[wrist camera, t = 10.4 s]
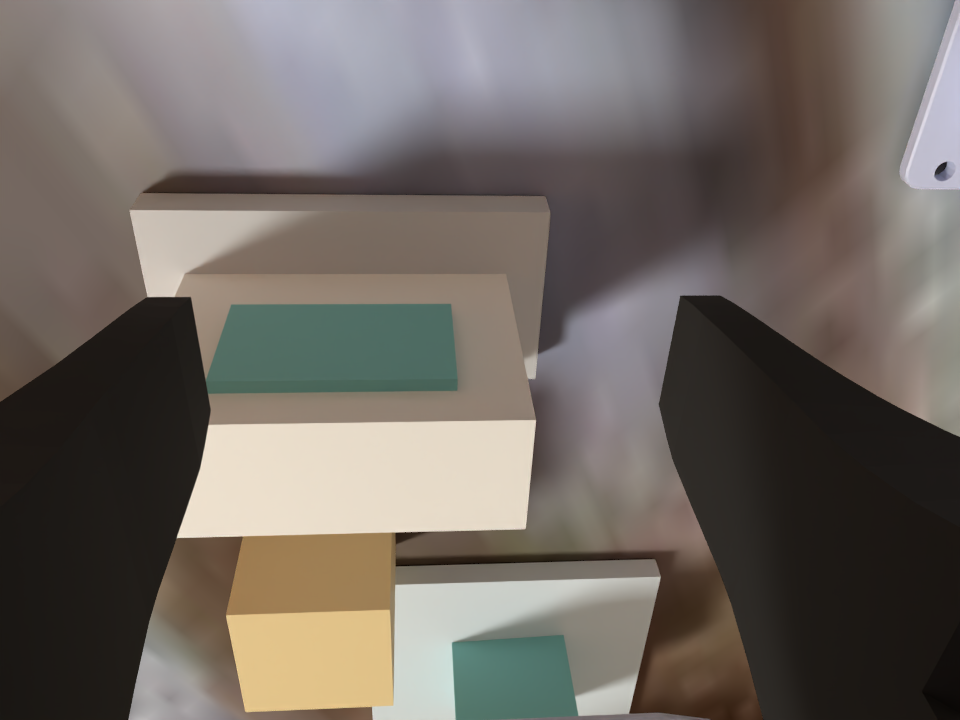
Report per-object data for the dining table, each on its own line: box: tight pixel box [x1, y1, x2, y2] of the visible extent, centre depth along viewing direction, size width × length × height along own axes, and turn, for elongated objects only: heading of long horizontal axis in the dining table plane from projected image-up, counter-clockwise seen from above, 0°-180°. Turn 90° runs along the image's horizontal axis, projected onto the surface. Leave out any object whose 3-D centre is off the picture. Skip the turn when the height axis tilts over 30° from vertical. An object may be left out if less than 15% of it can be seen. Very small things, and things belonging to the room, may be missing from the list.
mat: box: [372, 559, 661, 720], centre depth 32 cm, size 10×10×1 cm
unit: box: [130, 193, 551, 538], centre depth 20 cm, size 10×5×7 cm, turn 88°
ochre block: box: [226, 532, 396, 712], centre depth 24 cm, size 4×4×6 cm
